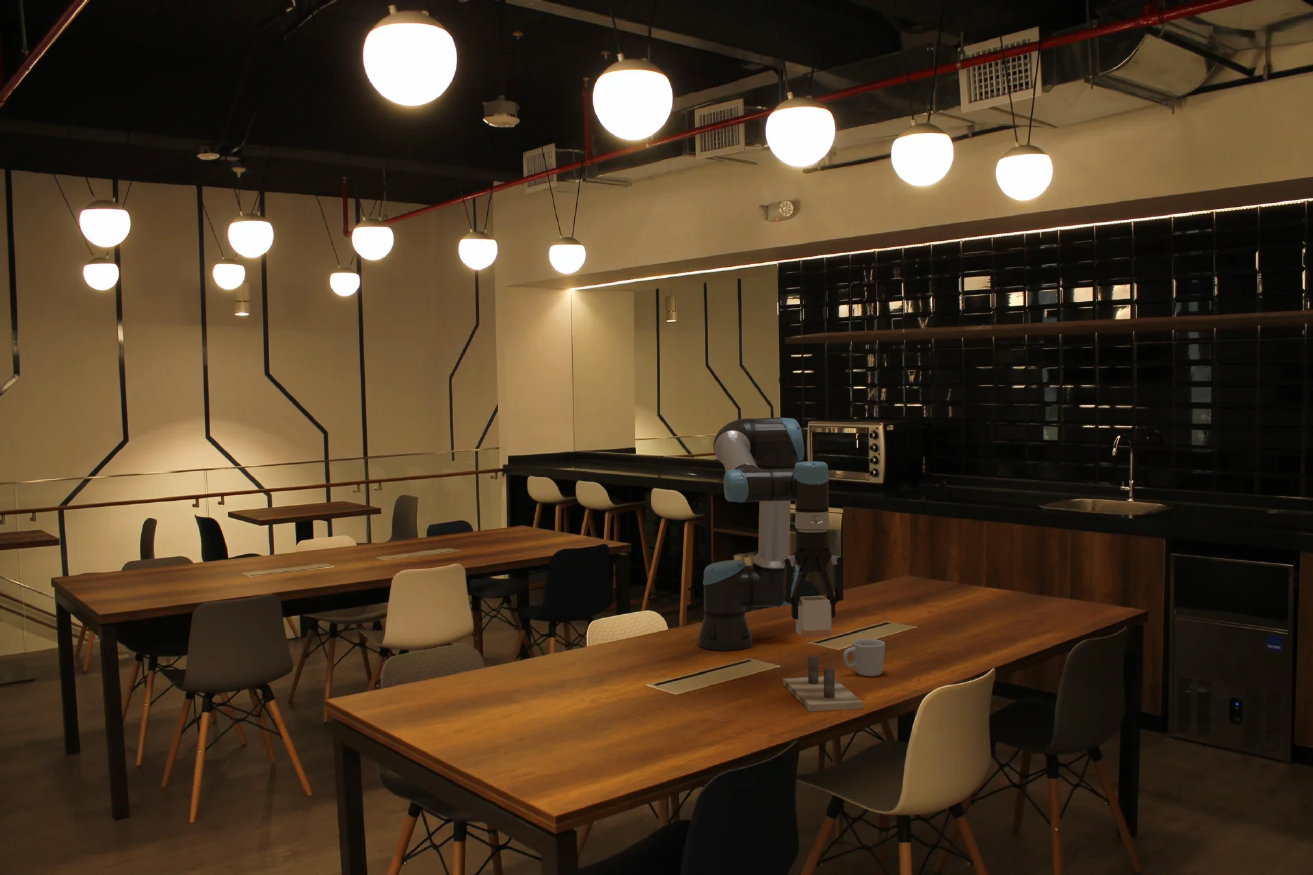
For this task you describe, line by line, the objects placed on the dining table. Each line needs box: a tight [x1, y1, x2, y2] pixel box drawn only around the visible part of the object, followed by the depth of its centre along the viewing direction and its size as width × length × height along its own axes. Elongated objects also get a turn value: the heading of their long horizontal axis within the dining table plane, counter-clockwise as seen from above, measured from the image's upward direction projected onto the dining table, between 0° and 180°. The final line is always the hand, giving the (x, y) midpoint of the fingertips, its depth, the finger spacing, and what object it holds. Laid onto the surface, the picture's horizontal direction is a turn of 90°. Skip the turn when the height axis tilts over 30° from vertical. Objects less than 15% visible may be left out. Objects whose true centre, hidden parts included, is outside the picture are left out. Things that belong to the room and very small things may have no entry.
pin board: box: [782, 655, 864, 712], centre depth 230 cm, size 22×12×8 cm, turn 8°
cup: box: [842, 638, 886, 677], centre depth 248 cm, size 11×8×8 cm
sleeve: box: [798, 595, 831, 638], centre depth 225 cm, size 6×6×8 cm
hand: (813, 632), depth 225 cm, fingers closed on sleeve, 6 cm apart
